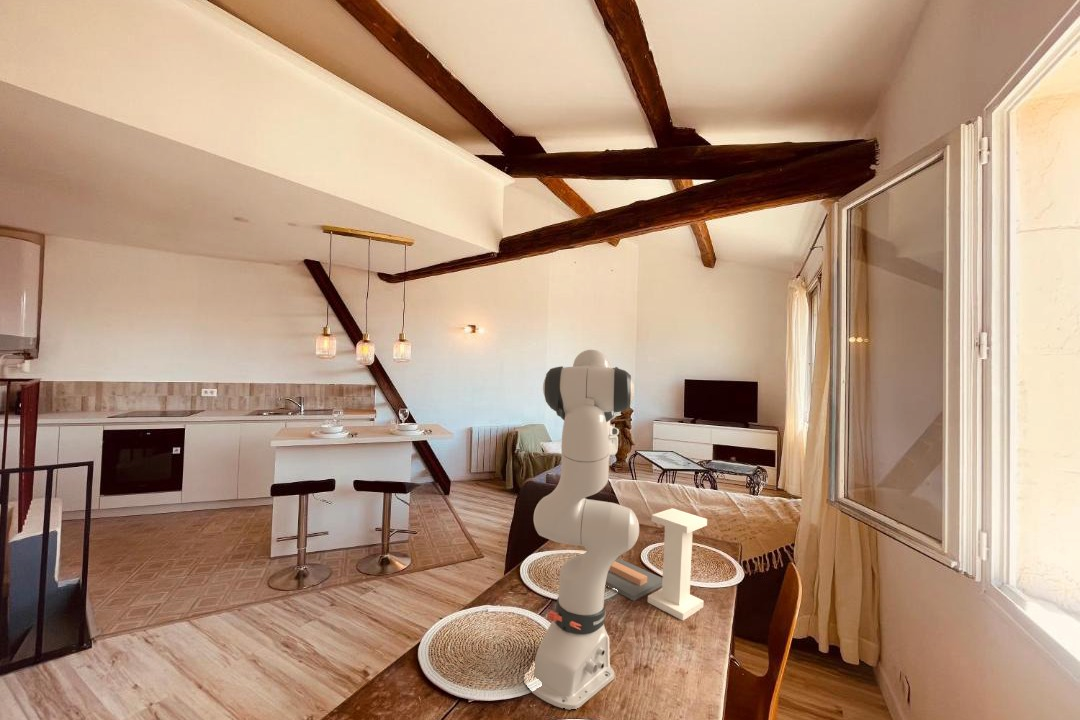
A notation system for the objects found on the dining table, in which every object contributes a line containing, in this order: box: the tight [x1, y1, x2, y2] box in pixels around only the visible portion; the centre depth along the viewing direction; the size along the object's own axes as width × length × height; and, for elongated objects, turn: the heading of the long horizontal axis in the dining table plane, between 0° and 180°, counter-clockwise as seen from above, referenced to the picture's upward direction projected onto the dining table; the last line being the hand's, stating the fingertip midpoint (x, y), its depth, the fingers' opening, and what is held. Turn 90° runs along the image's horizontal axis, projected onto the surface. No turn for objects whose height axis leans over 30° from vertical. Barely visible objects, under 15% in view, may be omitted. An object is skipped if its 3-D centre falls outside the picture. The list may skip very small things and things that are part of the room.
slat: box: [609, 561, 647, 586], centre depth 149 cm, size 24×4×2 cm, turn 42°
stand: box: [647, 507, 708, 621], centre depth 131 cm, size 12×12×27 cm
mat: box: [605, 557, 663, 602], centre depth 148 cm, size 26×18×2 cm
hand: (595, 469), depth 149 cm, fingers open, 8 cm apart
